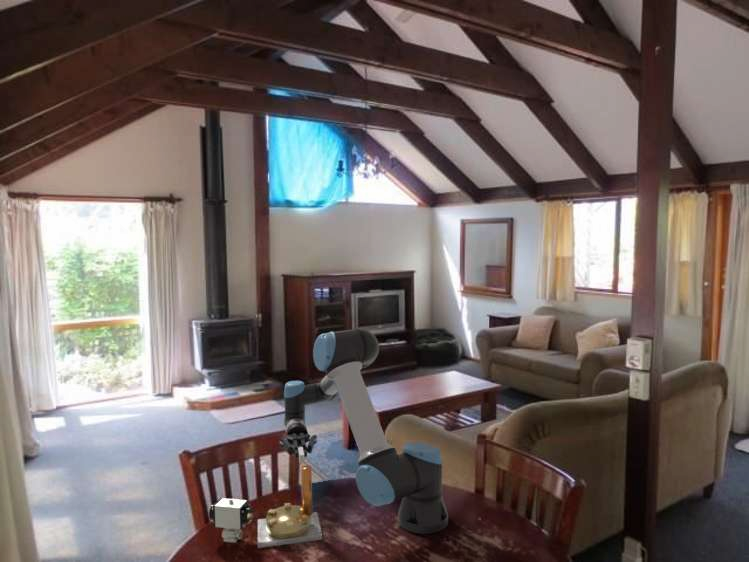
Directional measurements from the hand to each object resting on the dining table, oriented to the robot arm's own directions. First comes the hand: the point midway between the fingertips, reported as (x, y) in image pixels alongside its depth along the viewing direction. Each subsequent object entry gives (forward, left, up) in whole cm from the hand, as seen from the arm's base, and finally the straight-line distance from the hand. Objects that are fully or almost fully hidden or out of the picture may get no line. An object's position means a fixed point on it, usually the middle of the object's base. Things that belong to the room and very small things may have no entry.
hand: (302, 459), depth 163 cm
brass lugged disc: (+5, +10, -16) cm, 19 cm away
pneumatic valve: (+21, +10, -18) cm, 29 cm away
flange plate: (+5, +10, -17) cm, 21 cm away
